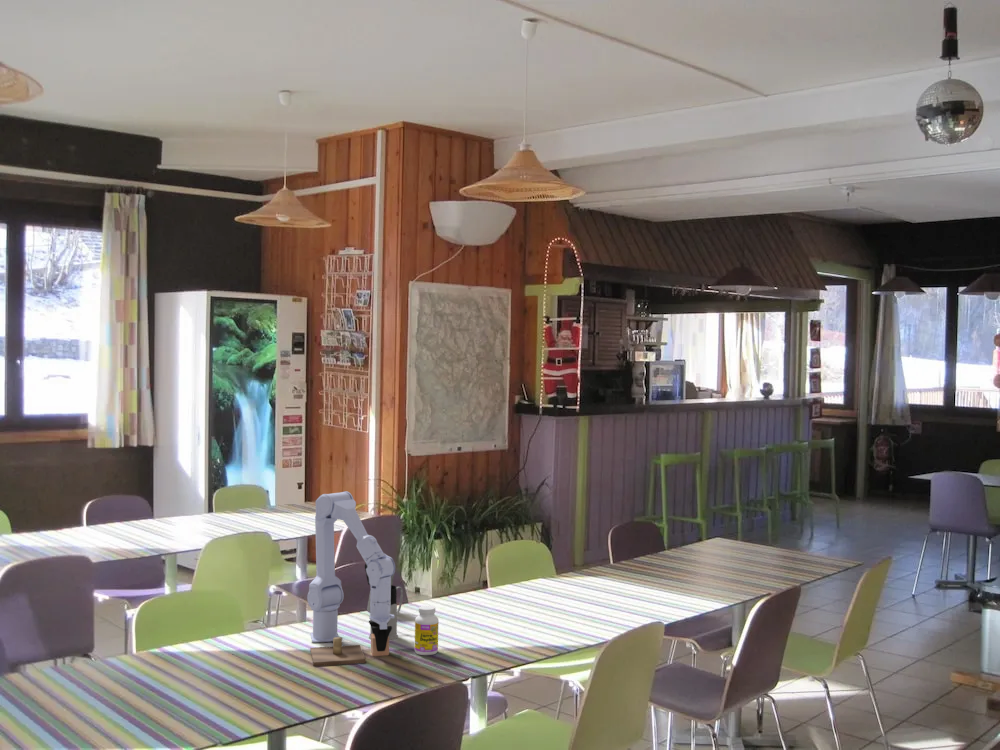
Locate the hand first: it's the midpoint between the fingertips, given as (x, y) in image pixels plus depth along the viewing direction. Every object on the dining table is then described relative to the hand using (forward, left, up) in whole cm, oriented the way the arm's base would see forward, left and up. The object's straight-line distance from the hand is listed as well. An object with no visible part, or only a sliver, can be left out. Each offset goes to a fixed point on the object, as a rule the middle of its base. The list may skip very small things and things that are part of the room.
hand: (379, 648), depth 274 cm
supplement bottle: (+2, +13, -2) cm, 13 cm away
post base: (+1, -12, -1) cm, 12 cm away
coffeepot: (-49, +6, -2) cm, 49 cm away
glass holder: (-18, +5, -2) cm, 19 cm away
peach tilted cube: (0, 0, -1) cm, 1 cm away
